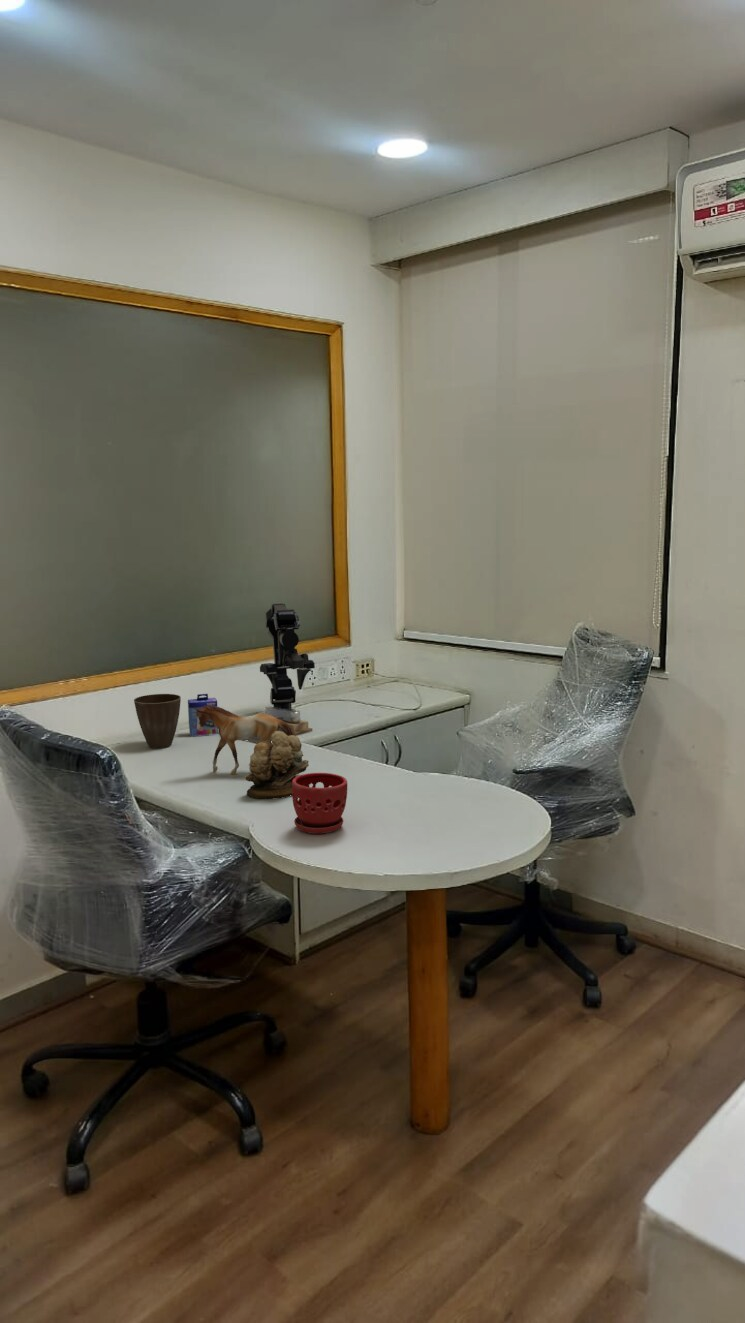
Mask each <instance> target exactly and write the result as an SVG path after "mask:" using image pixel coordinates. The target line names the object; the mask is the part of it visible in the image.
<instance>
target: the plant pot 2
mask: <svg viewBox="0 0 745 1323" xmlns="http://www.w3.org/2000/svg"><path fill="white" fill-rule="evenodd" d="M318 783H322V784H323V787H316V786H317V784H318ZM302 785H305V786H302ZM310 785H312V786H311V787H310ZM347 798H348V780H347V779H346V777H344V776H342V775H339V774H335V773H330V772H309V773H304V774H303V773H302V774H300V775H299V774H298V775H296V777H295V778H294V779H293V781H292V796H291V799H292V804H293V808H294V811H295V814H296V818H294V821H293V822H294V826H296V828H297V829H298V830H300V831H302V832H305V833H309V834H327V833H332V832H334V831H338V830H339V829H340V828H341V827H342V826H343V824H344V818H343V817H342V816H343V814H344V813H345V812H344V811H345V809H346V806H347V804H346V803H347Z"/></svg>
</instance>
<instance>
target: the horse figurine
mask: <svg viewBox="0 0 745 1323" xmlns="http://www.w3.org/2000/svg"><path fill="white" fill-rule="evenodd" d="M194 709H195V710H197V711H196V716H197V729H198V730H199V731H202V730H203V729H204V725H205V724H206V722H207V721H208V720H209V719H211V720H212V721H213V723H214V724H215V726H216V727H217V728H218V733H219V734H218V735H219V737H220V739H219V742H218V745H217V747H216V749H215V752H214V757H213V760H212V771H213V772H214V773H215V772H217V770H218V768H219V767H218V765H217V760H218V755H219V754H220V752H221V750H223V749H224V747H225V746H226V745H227V746H228V748H229V749H230V751H231V754H232V757H233V760H234V764H235V766H234V767H233V769H232V770H231V772H230V775H232V776H233V775H237V773H238V768H239V767H240V764H239V760H238V751H237V747H236V743H235V742H236V741H244V740H248V739H252V738H254V737H258V739H259V740H260V741H261V742H262V743H266V744H268V745H269V746H270V747H271V749H272V748H273V743H271V742H270V739H271V736H272V734H273V733H274V732H276V731H280V728H281V729H283V731H284V733H285V734H286V735H287V736H290V735H294V736H296V734H295V732H294V731H293V729H292V728H291V727H290V725H288V724H287V723H285V722H284V721H282V720H279V719H277V718H275V717H273V716H271V715H268V714H266V713H261V712H260V713H258V714H254V715H250V716H239V715H238V714H235V713H233V712H231V711H229V710H226V709H225V708H222V707H219V706H217V707H216V706H211V705H207V706H203V707H201V708H199V709H198V708H194ZM302 757H304V754H302Z"/></svg>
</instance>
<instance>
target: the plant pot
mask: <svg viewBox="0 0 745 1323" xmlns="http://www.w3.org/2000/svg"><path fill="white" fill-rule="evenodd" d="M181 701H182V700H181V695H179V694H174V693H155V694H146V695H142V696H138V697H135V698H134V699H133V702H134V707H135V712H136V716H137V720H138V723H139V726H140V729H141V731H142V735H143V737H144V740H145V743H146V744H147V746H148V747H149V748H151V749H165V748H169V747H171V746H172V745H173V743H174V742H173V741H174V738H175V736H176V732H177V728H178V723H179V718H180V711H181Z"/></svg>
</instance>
